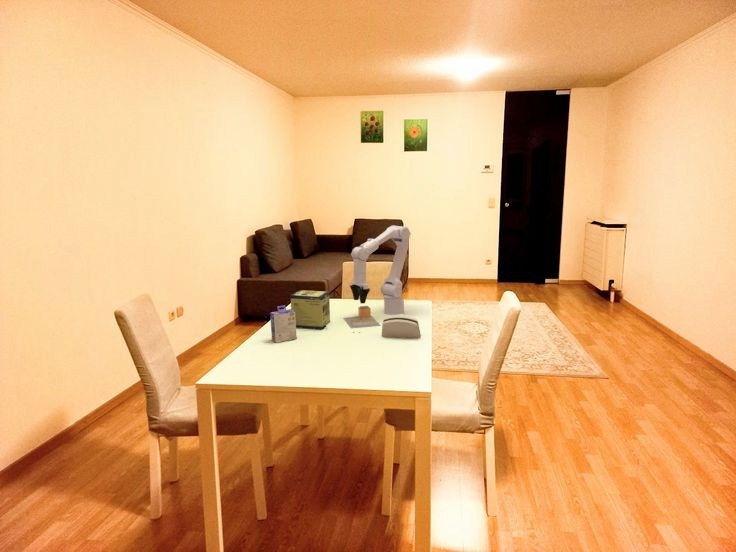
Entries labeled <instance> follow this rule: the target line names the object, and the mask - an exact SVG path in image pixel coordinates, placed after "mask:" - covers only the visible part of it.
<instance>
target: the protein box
mask: <svg viewBox="0 0 736 552" xmlns="http://www.w3.org/2000/svg"><path fill="white" fill-rule="evenodd" d="M330 301H331V300H330V291H320V290H319V291H318V290H302V289H301V290H298V291H296V292H294V293H292V294H290V309H292V310H293V311H295V317H296V329H307V330H319V331H322V330H324V329H325V328H326V327H327V325H328V324H329V323H330V322H331V310H330V307H331V306H330Z"/></svg>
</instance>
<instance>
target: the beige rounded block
mask: <svg viewBox="0 0 736 552" xmlns="http://www.w3.org/2000/svg"><path fill="white" fill-rule="evenodd" d="M381 337H392V338H393V337H397V338H416V339H417V338H418V339H420V337H421V330H420V324H419V321H418V320H417V319H415V318H412V317H410V316H409V317H408V316H401V315H399V316H389V317H386V318H383V320H382V325H381Z"/></svg>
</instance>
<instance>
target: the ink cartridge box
mask: <svg viewBox="0 0 736 552" xmlns="http://www.w3.org/2000/svg"><path fill="white" fill-rule="evenodd" d="M276 307H277V311H272V312H269V317H270V319H269V320H270V328H271V329H270V330H271V341H273V342H274V343H281V342H287V341H291V340H296V339H297V337H298V335H297V328H296V317H295V311H293V310H292V309H291V308H289V309H287V307H286V305H285V304H284V305H277V306H276ZM280 308H281V309H280Z"/></svg>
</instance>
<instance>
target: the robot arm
mask: <svg viewBox="0 0 736 552" xmlns="http://www.w3.org/2000/svg"><path fill="white" fill-rule="evenodd" d="M390 239H391V240H392V241H393V242H394V243H395V245H396V250H395V253H394V256H393V260H392V263H391V267H390V271H389V275H388V277H386V278H385V279H384V280H383V283H382V285H381V286H380V292H381V294H382V297H383V302H384V303H383V308H384V309H383V310H384V311H383V312H384V314H385V315H387V316H388V315H390V316H393V315H394V316H395V315H400V314H401V315H402V314H403V315H405V301H404V297H403V296H401V295H402V293H403V282H402V281H401V276H402V272H403V268H404V264H405V260H406V258H407V253H408V250H409V246H410V239H411V231H410V229H409V227H408V226H403V225H400V226H399V225H394V224H393V225H391V226H389V227H387V228H386V230H384V231H383V232H382V233H381V234H379V235H378V236H376V238H367V240H366V242H363V243H362V244H360V245H359V246H356V247H354V248H352V251H351V252H350V256H351V257H352V258H351V259H352V262H353V279H352V280H351V283H350V285H349V288H350V289H351V292H352V293H351V294H352V297H353V301H359V302H360V304H365V303H366V301H367V298H368V295H369V293H370V291H371V288H369V285H368V283H367V275H366V274H367V260H368V259H369V257H370V255H371V254H372V253H373V252H374V253H375V251H376V250H378V249H379V246H381V244H383V243H385V242H387V241H388V240H390Z"/></svg>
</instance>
